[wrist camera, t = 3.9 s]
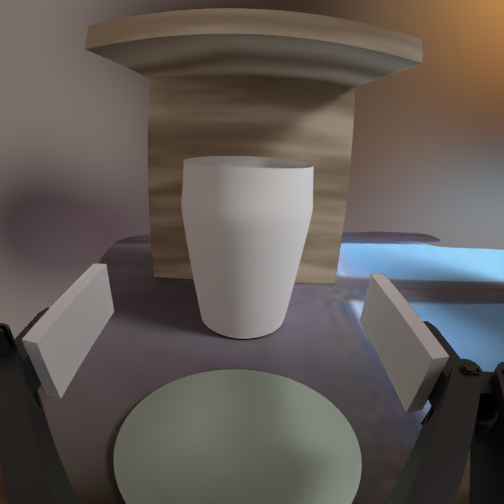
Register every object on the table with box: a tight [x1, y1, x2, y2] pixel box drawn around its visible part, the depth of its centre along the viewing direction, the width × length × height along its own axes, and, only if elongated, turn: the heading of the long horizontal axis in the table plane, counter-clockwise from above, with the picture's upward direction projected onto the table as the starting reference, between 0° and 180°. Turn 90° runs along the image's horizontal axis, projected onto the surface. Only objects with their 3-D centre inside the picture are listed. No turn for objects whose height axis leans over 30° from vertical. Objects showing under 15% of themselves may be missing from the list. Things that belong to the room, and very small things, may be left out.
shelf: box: [85, 9, 423, 284], centre depth 22 cm, size 14×18×20 cm
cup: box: [181, 156, 314, 339], centre depth 23 cm, size 9×9×12 cm
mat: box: [113, 369, 362, 504], centre depth 13 cm, size 12×12×1 cm
